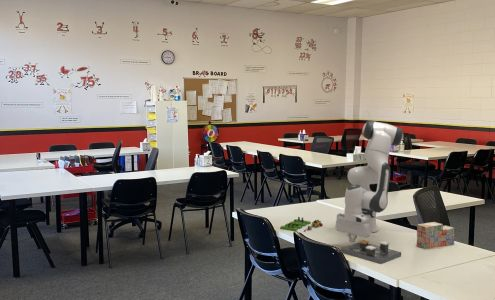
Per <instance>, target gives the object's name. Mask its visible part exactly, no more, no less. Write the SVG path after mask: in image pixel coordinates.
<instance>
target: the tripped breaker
mask: <svg viewBox="0 0 495 300" xmlns="http://www.w3.org/2000/svg"><path fill="white" fill-rule="evenodd" d="M358 243H360V248H363V249H366V247H368V244H370V241H368V240H364V239H362V240H359V241H358Z"/></svg>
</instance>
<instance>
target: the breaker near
mask: <svg viewBox="0 0 495 300" xmlns="http://www.w3.org/2000/svg"><path fill="white" fill-rule="evenodd" d="M375 249H376V247H373V246H368V247H366V254H369V255H374V254H375Z"/></svg>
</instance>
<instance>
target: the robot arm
mask: <svg viewBox="0 0 495 300" xmlns="http://www.w3.org/2000/svg"><path fill="white" fill-rule="evenodd" d="M362 136H363V138H365V139H367V141H368V142H367V144H366V148H365V151H364V153H363V156H364V160H366V162H367V165H363V166H355V167H353V168H350V169H349V170H348V171H347V180H348V182H349V183H350V185H349V186H347V187H346V190H345V193H344V203H345V204H344V205H345V208H344V213H340V212H339V213H338V214H337V215H336V219H335V230H336V231H339V232H343V233H347V237H348V241H349V242H350V243H356V242H357V241H356V239H357V238H358V237H363V238H369V237H370V236H371V234H372V233H376V232H378V226H377V218H376V216H377V214H378V213H381V212H383V211H385V210H386V208H387V207H388V199H389V198H388V194H389V186H390V177H391V165H390V164H389V156H390V152H391V147H392V146H399V145H400V144H401V142H402V141H403V139H404V130H403V128H401V127H398V126H395V125H392V124H389V123H385V122H378V121H374V120H368V121H366V122H365V124H364V125H363V127H362ZM375 184H377V185H376V186H377V187H376V191H372V190H371V188H370V185H375Z"/></svg>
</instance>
